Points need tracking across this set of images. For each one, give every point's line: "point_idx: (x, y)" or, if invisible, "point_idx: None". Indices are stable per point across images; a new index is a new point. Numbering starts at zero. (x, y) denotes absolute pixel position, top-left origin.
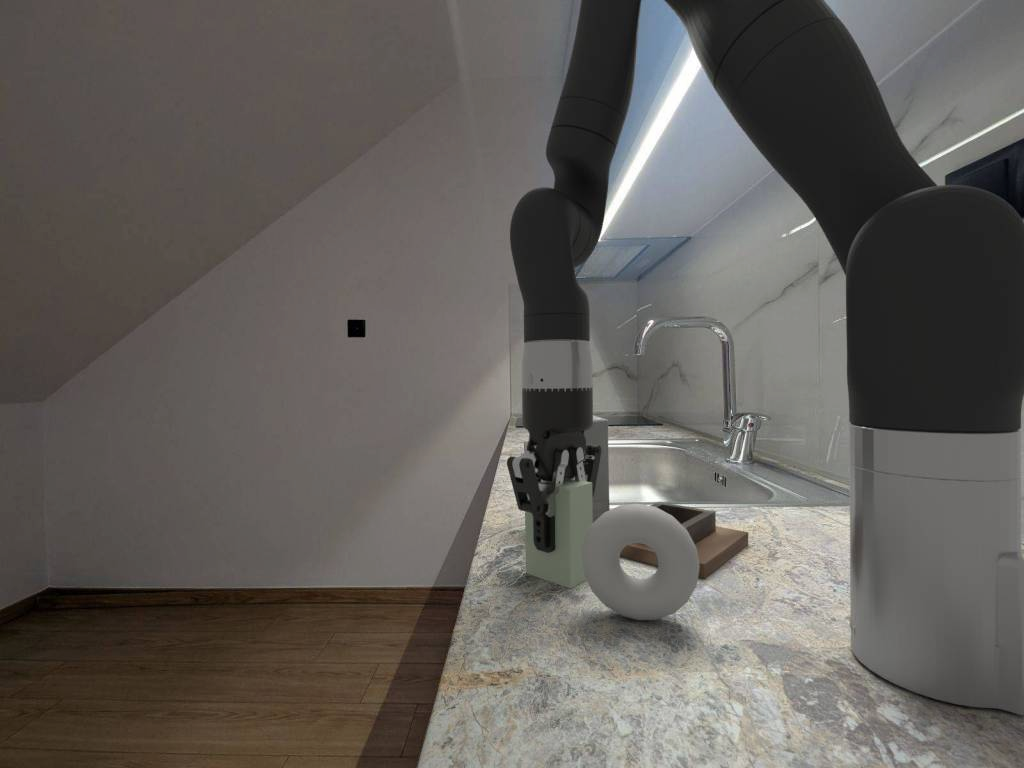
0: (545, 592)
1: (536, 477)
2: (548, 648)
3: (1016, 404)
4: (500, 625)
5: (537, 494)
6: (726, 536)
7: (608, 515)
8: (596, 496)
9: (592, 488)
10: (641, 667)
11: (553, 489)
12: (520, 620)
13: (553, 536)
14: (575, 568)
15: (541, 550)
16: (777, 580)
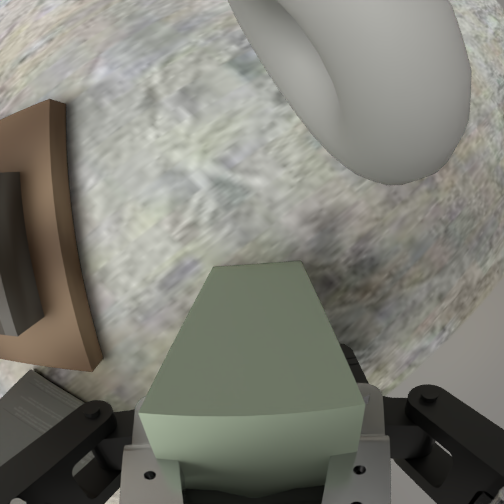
0: (348, 285)
1: (495, 471)
2: (475, 151)
3: None
4: (475, 249)
5: (461, 427)
6: None
7: (464, 60)
8: (15, 427)
9: (81, 420)
10: None
11: (387, 445)
12: (451, 238)
13: None
14: (285, 273)
15: None
16: (15, 43)
